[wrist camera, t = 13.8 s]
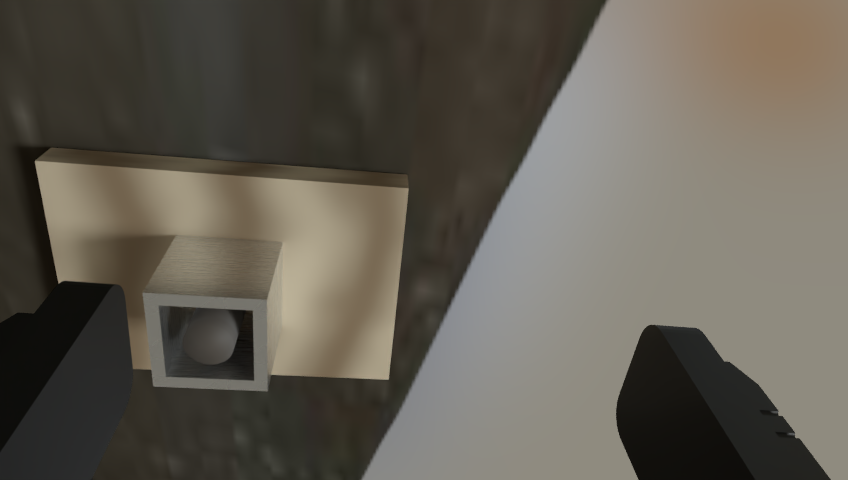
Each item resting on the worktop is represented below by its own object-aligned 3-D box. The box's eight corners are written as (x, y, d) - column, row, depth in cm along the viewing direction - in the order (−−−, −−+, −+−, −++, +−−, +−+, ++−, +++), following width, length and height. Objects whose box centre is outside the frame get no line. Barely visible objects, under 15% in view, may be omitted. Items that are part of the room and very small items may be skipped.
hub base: (86, 346, 42) (29, 437, 35) (51, 147, 36) (-29, 210, 29) (388, 360, 45) (389, 448, 38) (407, 174, 38) (413, 239, 31)
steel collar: (183, 320, 40) (153, 386, 34) (176, 234, 37) (142, 292, 31) (282, 325, 40) (267, 391, 35) (282, 241, 37) (266, 299, 32)
